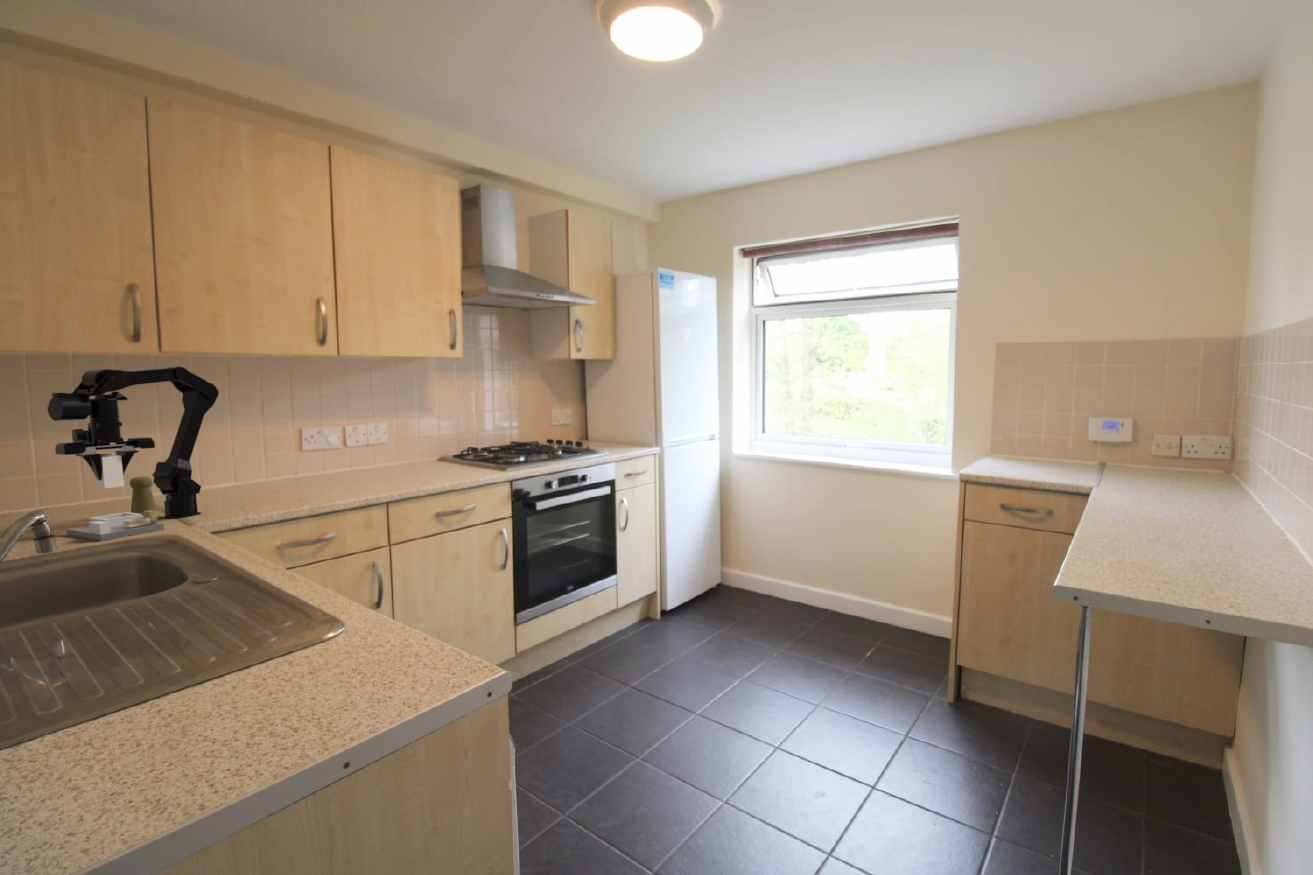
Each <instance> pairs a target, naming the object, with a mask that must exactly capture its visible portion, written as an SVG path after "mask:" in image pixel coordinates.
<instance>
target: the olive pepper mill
mask: <svg viewBox="0 0 1313 875" xmlns="http://www.w3.org/2000/svg"><path fill="white" fill-rule="evenodd" d="M153 480H154V479H153V478H151V477H150V476H135V477H133V478H130V480H129V486H130V488H131V489H132V491H131V492H132V494H131V507H130V513H138V514H142V515H143V511H148V510H153V511H157V512H158V510H157V507H156V506H157V505H156V502H155V499H154V495H153V491H152V486H153V484H154V481H153Z"/></svg>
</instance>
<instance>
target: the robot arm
mask: <svg viewBox="0 0 1313 875" xmlns="http://www.w3.org/2000/svg"><path fill="white" fill-rule="evenodd" d="M165 382H170V383H171V384H172V386H174V388H175V389H176V390H177V391H179V392H180V393H181V394H182V396H181V397H182V399H181V401H182V405H183V406H182V407H183V408H184V410H183V414H182V416H181V420H180V422H179V426H178V429H177V432H176V435H175V437H174V441H173V444H172V446H171V450H170V453H169V456H168V458H166V459H165V461H157V463H156V464H155V470H154V472H153V473H152V475H151V476H152V477H153V479H152V480H153V484H154V485H155V486H156V488H158V489H159V491H160V493H161V494H162V495H163V496H165V501H164V505H163V506H164V514H163V516H164V517H167V518H174V519H177V518H183V517H190V516H191V517H192V516H196V515H201V514H202V512H201V511H198V502H197V500H198V499H197V494H200V492H201V489H202V485H201V484H199V483H198V482H197V481H195V480H194V479H192V473H193V468H192V465H191V458H192V456H193V455H192V454H193V452H194V449H195V446H196V442H197V440H198V435H199V433H200V429H201V427H202V424H203V421H204V418H205V415H206V413H208V411H209V410H210V409H211V408H212V407H213V406H214V405H215V403H216V401H217V399H218V398H219V394H220V393H219V389H218V388H217V386H216V385H215V384H214V383H211V382H208V381H207V380H205V379H204V378H202V377H200V376H198V375H196V374H194V373H192V372H191V371H189V370H188V369H187V368H185V367H184V366H183V367H182V366H169V367H166V368H152V369H142V370H141V369H140V370H123V369H122V370H121V369H108V368H107V369H105V368H104V369H90V370H89V369H88V370H86V371H85V372H84V373H83V375H82V376H81V381H80V382H79V383H78V385H77V386H76V387H75V389H74V390H73V391H72V392H70V393H66V392H52V393H51V394H52V396H51V398H50V399H49V402H48V405H47V413H48V416H49V417H50V419H51V420H53V421H55V422H60V421H77V420H78V421H79V420H86V419H87V418H88V417H89V422H88V423H87V430H85V429H84V428H76V429H75V428H74V429H72V430H71V438H72V441H68V442H58V443H56V445H55V449H54V451H55V455H62V456H66V455H67V456H71V455H75V456H76V457H80V458H82V459H83V460H84V461H85V462H86V463H87V464H88V466H89V467H90V469H91V471H92V473H93V474H94V476H95V478H96V481H97V480H101V479H102V470H101V459H100V454H101V453H97V451H100V450H101V451H102V450H113V449H118V450H115V452H114V453H117V455H120V456H121V459H122V470H123V476H124V474H125V472H126V470H127V468H128V465H129V464H130V461H131V460H132V458H133V456H134V455H135V454H137V453H139V450H137V449H138V448H139V449H141V450H143V449H144V450H145V449H155V448H156V444H155V443H156V442H155V441H154V439H153V438H152V437H143V436H142V437H128V438H127V440H124V437H122V434H121V433H122V432H121V427H123V422H121V421H120V411H119V410H120V409H119V401H127V400H128V397H127V396H125V395H123V394H122V393H121V392H120V390H124V389H126V388H129V387H132V386H136V385H144V384H145V385H146V384H155V383H165ZM106 393H108V394H106ZM109 393H110V394H109ZM90 397H94V398H90Z"/></svg>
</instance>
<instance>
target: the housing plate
mask: <svg viewBox="0 0 1313 875" xmlns="http://www.w3.org/2000/svg"><path fill="white" fill-rule="evenodd" d="M141 517H144V516H143V515H142V514H138V513H131V511H130V512H129V511H123V512H117V513H111V514H105V515H99V516H98V515H97V516H92V517H88V525H82V526H76V527H72V528H66V530H65V531H66V532H65V533H66V536H68V537H69V536H70V537H77V538H81V539H87V540H94V541H99V542H104V541H109V540H115V539H120V538H119V537H121V538H124V537H123V536H126V537H128V536H127V535H131V536H133V535H132V534H137V535H140V534H141V533H142V534H147V533H151V532H150V531H153V532H156V531H155V530H158V531H161V530H160V529H165V528H164V523H161V522H158V523H152V524H146V525H141V526H135V527H124V526H123V520H129V519H135V518H141ZM146 532H147V533H146ZM142 534H141V535H142Z"/></svg>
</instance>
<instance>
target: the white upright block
mask: <svg viewBox="0 0 1313 875" xmlns="http://www.w3.org/2000/svg"><path fill="white" fill-rule="evenodd" d="M99 454H100V459H101V470H102V479H101V480H97V479H96V485H97V486H96V487H97V488H98V489H99V488H100V489H111V488H112V489H113V488H119V487H124V486H125V482H124V475H123V470H122V459H121V456H120V455H117V453H116V452H114V453H113V452H109V453H107V452H106V453H99Z"/></svg>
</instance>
